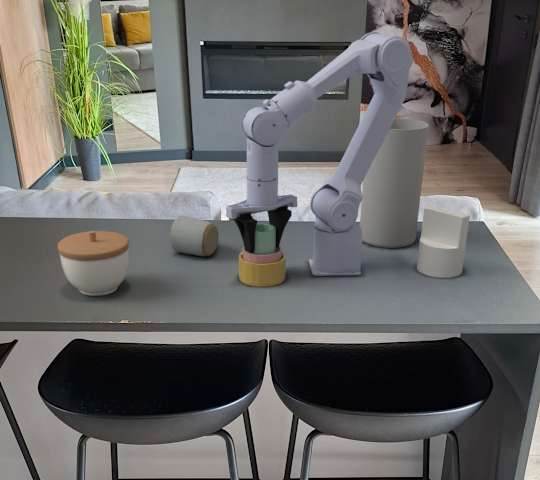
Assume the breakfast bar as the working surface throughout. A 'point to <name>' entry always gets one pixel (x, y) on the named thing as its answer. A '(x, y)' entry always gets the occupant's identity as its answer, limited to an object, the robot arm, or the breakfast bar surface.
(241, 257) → the stack bottom
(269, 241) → the mint cup
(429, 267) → the base with upright slab
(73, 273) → the lidded bowl
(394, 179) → the cylinder vase
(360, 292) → the breakfast bar surface
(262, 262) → the stack top
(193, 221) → the ceramic mug
